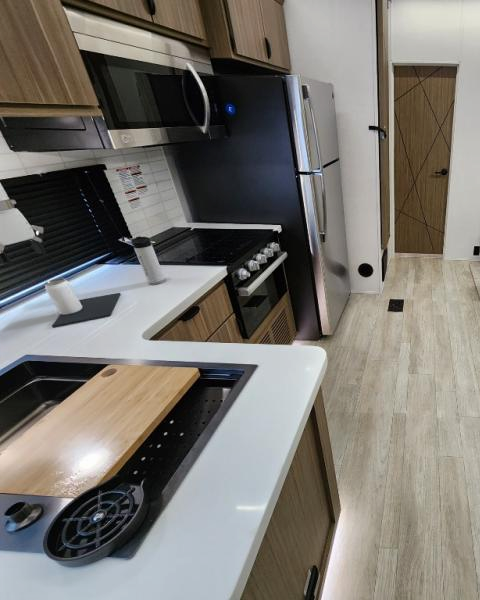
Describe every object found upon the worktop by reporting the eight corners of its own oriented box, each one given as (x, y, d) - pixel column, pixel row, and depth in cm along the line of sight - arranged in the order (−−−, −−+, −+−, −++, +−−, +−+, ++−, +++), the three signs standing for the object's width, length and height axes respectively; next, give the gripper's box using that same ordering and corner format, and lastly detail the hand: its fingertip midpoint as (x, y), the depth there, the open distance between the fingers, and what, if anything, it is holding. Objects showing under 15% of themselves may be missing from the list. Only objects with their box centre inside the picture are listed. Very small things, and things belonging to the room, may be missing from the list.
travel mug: (163, 277, 150) (146, 234, 140) (167, 281, 146) (150, 238, 136) (147, 281, 146) (129, 238, 137) (150, 286, 142) (132, 241, 132)
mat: (52, 327, 113) (51, 325, 113) (70, 303, 129) (69, 301, 129) (110, 316, 120) (109, 314, 120) (120, 294, 136) (120, 292, 135)
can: (56, 316, 118) (39, 286, 113) (64, 308, 124) (47, 279, 118) (79, 313, 121) (63, 283, 115) (85, 305, 126) (70, 276, 120)
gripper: (18, 200, 110) (45, 249, 118) (-53, 213, 95) (-17, 267, 103) (36, 201, 109) (62, 250, 117) (-33, 214, 94) (2, 269, 102)
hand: (25, 258), depth 110 cm, fingers open, 9 cm apart
